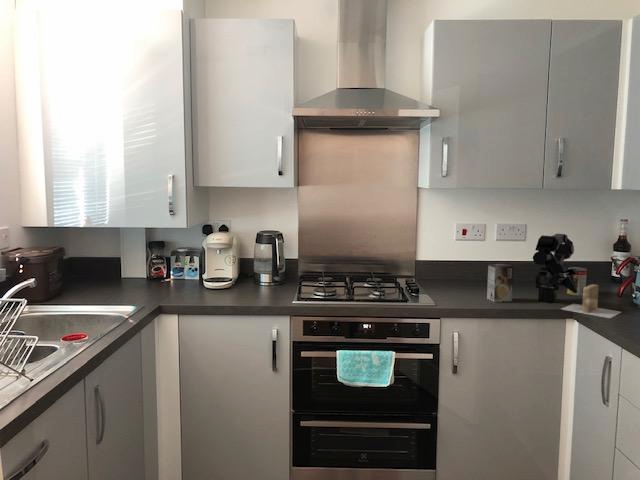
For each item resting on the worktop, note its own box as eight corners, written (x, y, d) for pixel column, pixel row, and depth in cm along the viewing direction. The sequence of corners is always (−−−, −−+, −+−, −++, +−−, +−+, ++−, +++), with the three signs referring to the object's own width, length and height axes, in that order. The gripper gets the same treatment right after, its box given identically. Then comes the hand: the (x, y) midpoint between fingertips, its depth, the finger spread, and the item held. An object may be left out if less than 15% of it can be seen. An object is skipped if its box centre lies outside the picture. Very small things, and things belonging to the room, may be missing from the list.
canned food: (573, 291, 255) (575, 266, 254) (588, 294, 248) (590, 269, 247) (563, 292, 251) (564, 268, 250) (578, 296, 244) (579, 270, 243)
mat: (560, 310, 218) (560, 309, 218) (573, 304, 228) (573, 303, 227) (609, 319, 204) (609, 318, 204) (621, 313, 214) (621, 311, 214)
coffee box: (504, 298, 239) (506, 263, 237) (512, 301, 233) (514, 265, 231) (486, 299, 238) (487, 264, 236) (493, 302, 231) (495, 266, 229)
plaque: (581, 311, 214) (582, 287, 213) (590, 307, 221) (591, 284, 219) (588, 312, 212) (589, 288, 211) (597, 308, 219) (598, 285, 218)
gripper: (546, 271, 237) (570, 300, 231) (527, 277, 224) (552, 307, 218) (565, 256, 230) (590, 285, 224) (547, 261, 218) (573, 291, 211)
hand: (576, 292), depth 219 cm, fingers closed
